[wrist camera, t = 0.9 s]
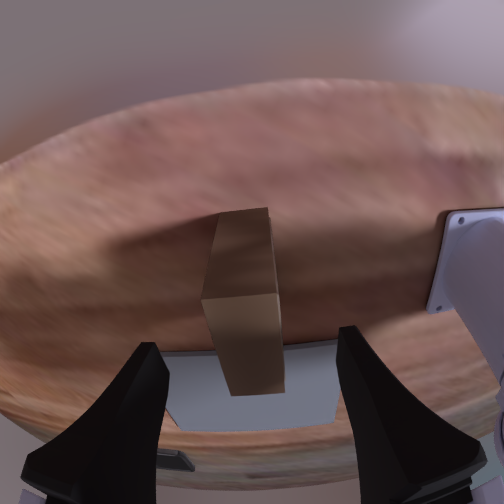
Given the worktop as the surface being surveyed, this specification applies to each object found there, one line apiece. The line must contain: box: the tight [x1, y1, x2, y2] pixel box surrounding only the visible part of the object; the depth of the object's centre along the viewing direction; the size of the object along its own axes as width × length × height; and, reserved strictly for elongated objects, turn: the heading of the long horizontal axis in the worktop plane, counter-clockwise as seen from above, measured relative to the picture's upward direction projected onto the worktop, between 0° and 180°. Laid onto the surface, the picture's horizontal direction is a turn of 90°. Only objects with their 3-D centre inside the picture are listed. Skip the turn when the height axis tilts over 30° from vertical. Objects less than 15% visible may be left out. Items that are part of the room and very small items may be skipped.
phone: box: [156, 448, 195, 472], centre depth 35 cm, size 8×1×15 cm
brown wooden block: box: [201, 207, 286, 396], centre depth 14 cm, size 3×6×7 cm, turn 7°
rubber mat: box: [160, 339, 341, 432], centre depth 24 cm, size 16×13×1 cm
